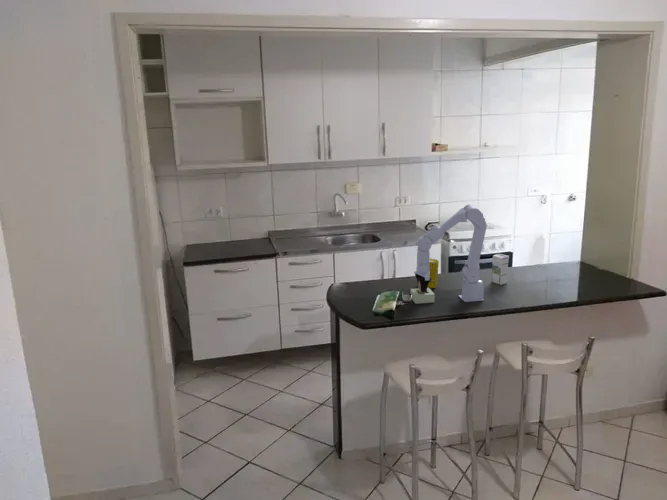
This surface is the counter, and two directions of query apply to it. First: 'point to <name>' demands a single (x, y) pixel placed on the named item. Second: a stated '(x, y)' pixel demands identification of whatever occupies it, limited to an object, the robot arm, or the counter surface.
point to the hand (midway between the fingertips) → (422, 290)
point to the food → (433, 273)
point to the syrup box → (499, 269)
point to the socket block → (422, 296)
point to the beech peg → (420, 289)
